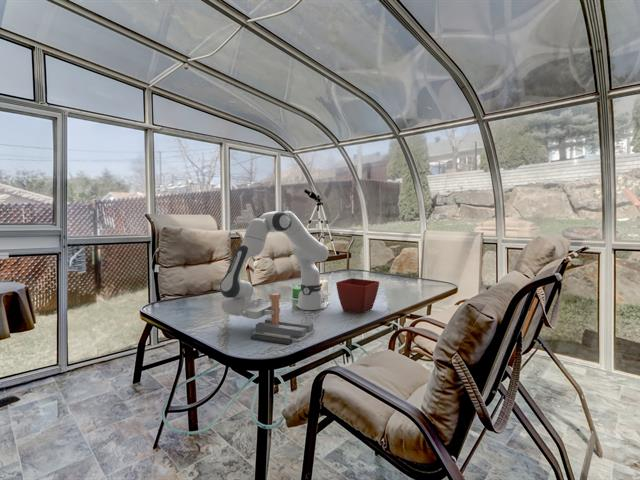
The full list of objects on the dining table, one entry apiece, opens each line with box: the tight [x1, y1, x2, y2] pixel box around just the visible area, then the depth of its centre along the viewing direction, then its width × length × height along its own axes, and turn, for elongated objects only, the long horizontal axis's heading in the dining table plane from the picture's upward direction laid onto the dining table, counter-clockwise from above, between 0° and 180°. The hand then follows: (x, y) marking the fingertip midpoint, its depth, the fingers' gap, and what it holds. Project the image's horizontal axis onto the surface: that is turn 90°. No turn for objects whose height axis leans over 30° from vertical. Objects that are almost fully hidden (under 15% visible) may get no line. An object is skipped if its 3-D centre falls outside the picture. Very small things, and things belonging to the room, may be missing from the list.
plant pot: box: [335, 277, 380, 314], centre depth 202 cm, size 19×19×17 cm
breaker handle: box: [269, 292, 282, 325], centre depth 163 cm, size 4×4×16 cm
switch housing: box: [252, 317, 316, 342], centre depth 162 cm, size 16×24×4 cm
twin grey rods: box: [250, 334, 294, 345], centre depth 151 cm, size 4×20×2 cm, turn 67°
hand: (276, 311), depth 163 cm, fingers closed on breaker handle, 3 cm apart
